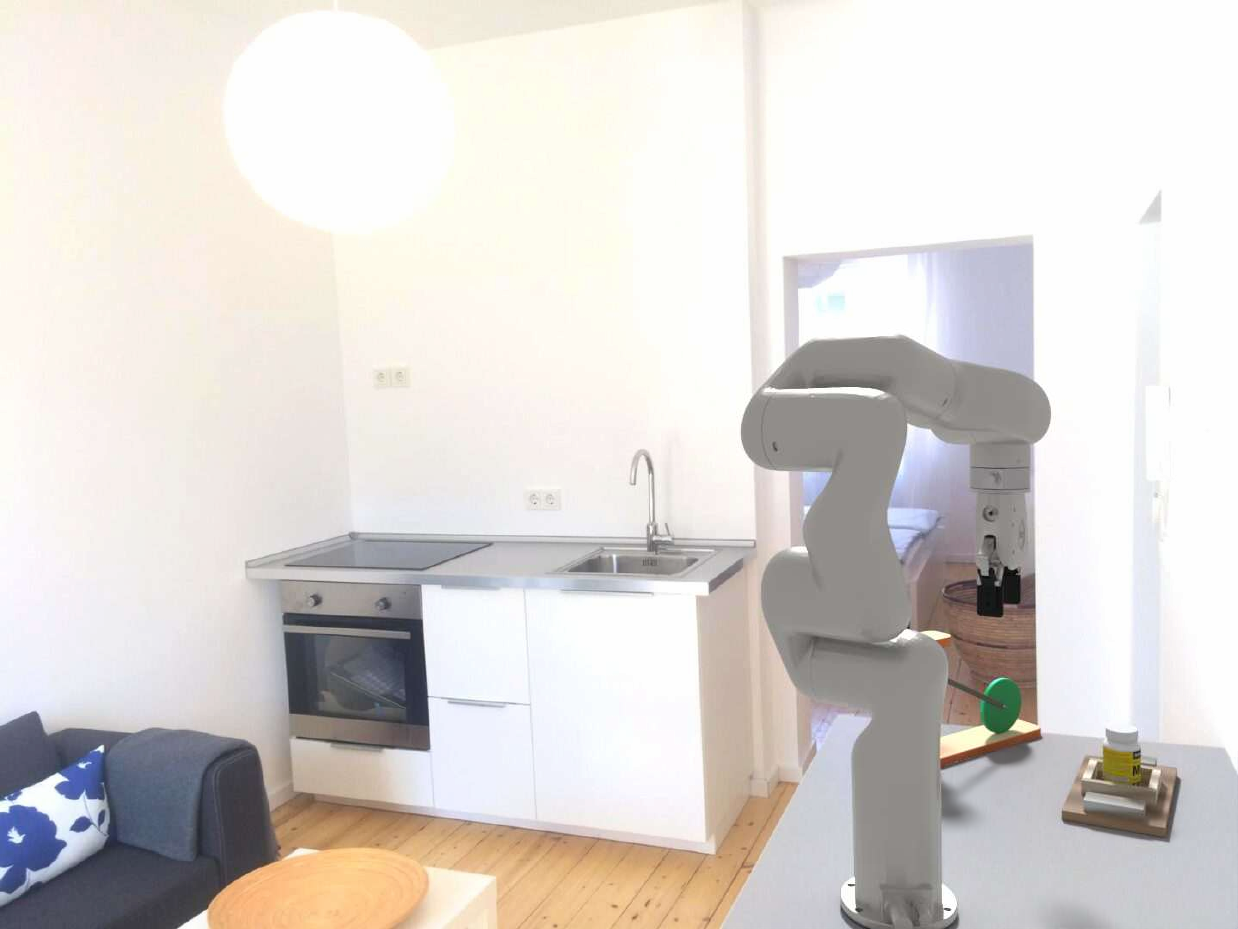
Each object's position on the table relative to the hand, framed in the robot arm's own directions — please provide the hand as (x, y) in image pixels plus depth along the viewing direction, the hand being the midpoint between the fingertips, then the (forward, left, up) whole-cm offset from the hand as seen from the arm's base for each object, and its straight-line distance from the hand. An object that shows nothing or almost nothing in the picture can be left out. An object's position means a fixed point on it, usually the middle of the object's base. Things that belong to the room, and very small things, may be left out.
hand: (999, 609), depth 137 cm
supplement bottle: (+4, -17, -26) cm, 32 cm away
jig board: (+4, -17, -27) cm, 33 cm away
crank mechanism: (+24, -3, -28) cm, 37 cm away
